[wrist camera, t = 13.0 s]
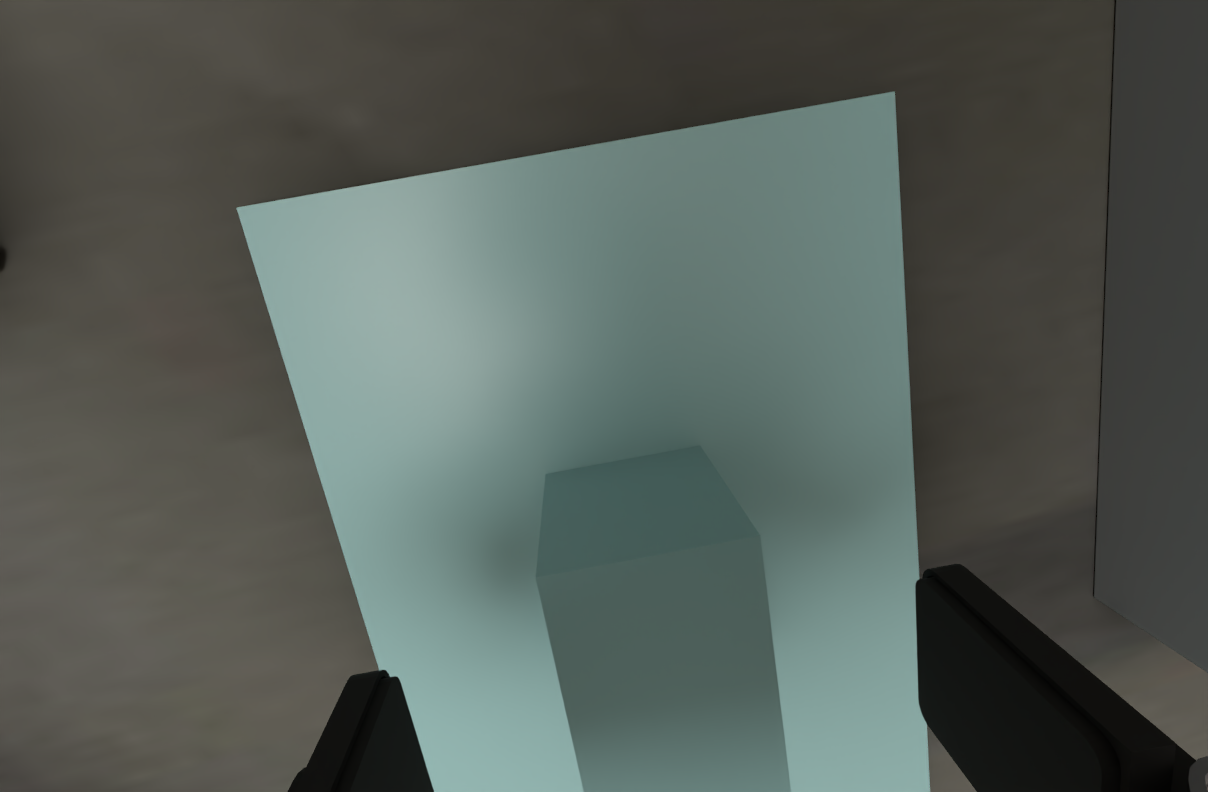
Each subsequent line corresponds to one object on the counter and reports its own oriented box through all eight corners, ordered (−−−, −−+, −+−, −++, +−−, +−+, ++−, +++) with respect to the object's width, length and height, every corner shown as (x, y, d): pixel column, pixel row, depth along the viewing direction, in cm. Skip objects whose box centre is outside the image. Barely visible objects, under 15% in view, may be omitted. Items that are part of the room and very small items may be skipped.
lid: (262, 210, 15) (51, 185, 9) (869, 103, 15) (1072, 7, 9) (461, 873, 20) (414, 1146, 14) (910, 786, 20) (1056, 1016, 14)
